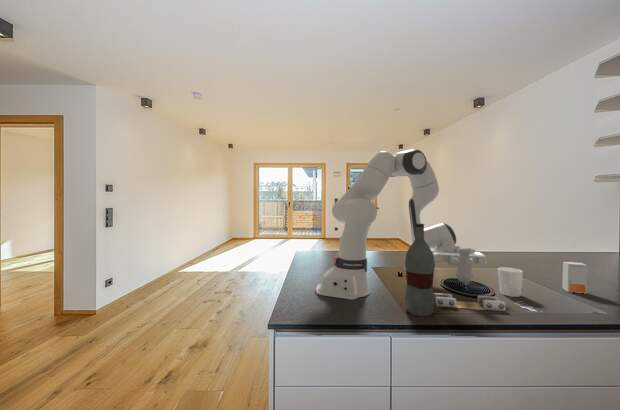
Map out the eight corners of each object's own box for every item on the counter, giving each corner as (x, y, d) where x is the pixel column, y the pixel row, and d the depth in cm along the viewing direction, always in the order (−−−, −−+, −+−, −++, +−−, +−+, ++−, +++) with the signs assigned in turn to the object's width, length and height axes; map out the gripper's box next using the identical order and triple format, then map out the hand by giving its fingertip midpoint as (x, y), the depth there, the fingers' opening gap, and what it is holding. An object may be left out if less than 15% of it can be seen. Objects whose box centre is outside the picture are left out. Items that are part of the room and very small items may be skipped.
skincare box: (567, 292, 105) (568, 263, 105) (562, 289, 109) (562, 261, 109) (587, 294, 103) (587, 264, 103) (580, 291, 107) (581, 262, 107)
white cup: (516, 299, 98) (516, 273, 98) (493, 292, 105) (494, 268, 105) (526, 295, 102) (526, 270, 102) (503, 289, 109) (504, 266, 109)
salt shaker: (475, 283, 97) (475, 249, 97) (458, 282, 98) (459, 248, 99) (469, 279, 103) (469, 247, 103) (453, 278, 104) (453, 246, 104)
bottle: (434, 308, 90) (434, 223, 89) (435, 319, 81) (435, 225, 81) (405, 303, 93) (406, 222, 93) (403, 313, 85) (404, 224, 85)
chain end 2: (484, 309, 88) (484, 301, 88) (477, 303, 94) (477, 295, 94) (505, 311, 87) (505, 302, 87) (497, 304, 92) (497, 296, 92)
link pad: (457, 308, 90) (457, 307, 90) (451, 301, 96) (451, 300, 96) (484, 310, 88) (484, 309, 88) (476, 303, 94) (476, 302, 94)
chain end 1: (436, 306, 91) (436, 298, 91) (432, 300, 97) (432, 292, 96) (456, 307, 90) (456, 299, 90) (450, 301, 95) (450, 293, 95)
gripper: (427, 246, 115) (436, 252, 102) (477, 249, 112) (493, 255, 98) (427, 260, 116) (436, 268, 102) (477, 263, 112) (493, 271, 98)
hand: (465, 262), depth 100 cm, fingers closed on salt shaker, 3 cm apart
